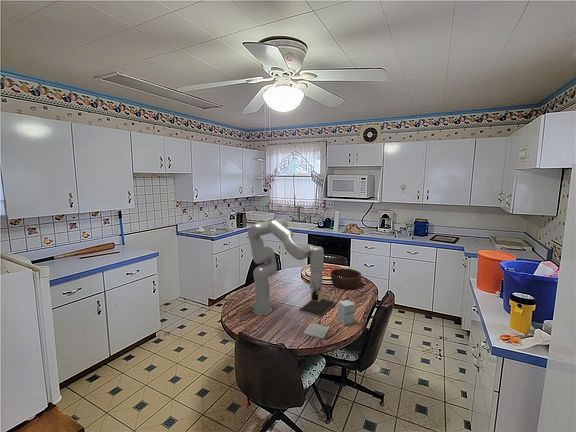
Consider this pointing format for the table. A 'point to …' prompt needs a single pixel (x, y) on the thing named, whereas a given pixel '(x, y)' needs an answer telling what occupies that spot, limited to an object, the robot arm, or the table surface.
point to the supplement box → (345, 312)
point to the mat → (316, 330)
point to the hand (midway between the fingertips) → (316, 298)
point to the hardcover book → (317, 307)
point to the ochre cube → (318, 295)
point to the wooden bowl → (345, 278)
